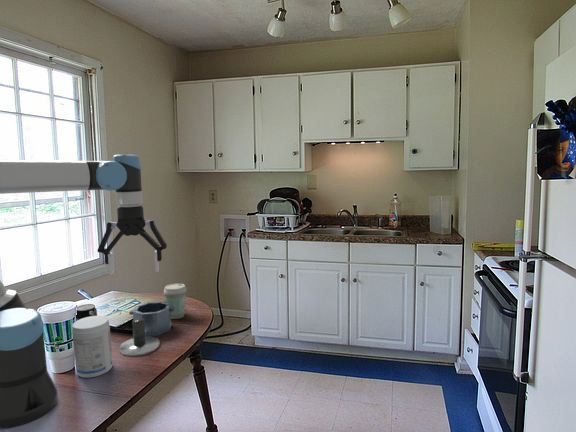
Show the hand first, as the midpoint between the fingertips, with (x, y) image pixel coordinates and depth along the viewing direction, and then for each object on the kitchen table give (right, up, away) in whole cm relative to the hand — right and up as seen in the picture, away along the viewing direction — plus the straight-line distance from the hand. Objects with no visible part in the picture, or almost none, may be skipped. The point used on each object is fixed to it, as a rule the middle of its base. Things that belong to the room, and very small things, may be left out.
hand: (134, 272), depth 126 cm
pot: (0, -23, +17) cm, 28 cm away
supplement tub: (-7, -27, -11) cm, 30 cm away
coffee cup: (+5, -21, +29) cm, 36 cm away
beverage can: (-19, -24, +8) cm, 32 cm away
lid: (+1, -25, +3) cm, 25 cm away
